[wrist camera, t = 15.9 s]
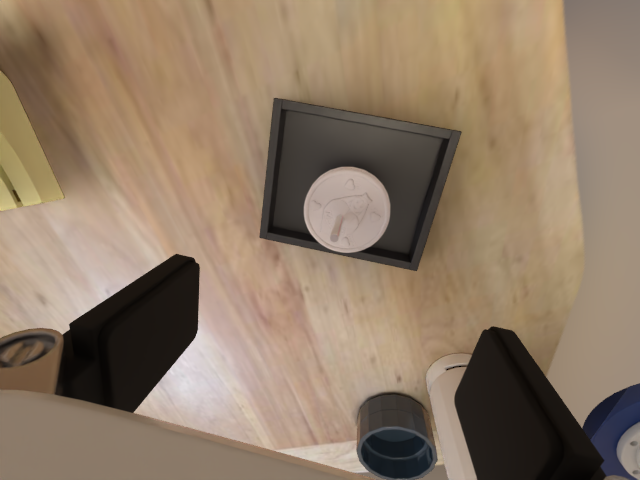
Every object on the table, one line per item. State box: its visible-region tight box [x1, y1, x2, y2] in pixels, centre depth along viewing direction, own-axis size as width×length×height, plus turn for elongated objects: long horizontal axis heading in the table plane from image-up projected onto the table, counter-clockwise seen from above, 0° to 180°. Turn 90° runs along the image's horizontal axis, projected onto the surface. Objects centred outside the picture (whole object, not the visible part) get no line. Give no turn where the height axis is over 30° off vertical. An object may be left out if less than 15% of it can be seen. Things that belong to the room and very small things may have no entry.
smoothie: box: [304, 167, 390, 253], centre depth 25 cm, size 6×6×14 cm
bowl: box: [357, 395, 438, 480], centre depth 40 cm, size 9×9×5 cm
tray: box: [260, 98, 461, 271], centre depth 31 cm, size 17×14×2 cm
